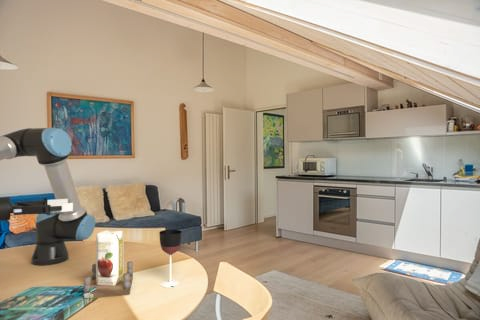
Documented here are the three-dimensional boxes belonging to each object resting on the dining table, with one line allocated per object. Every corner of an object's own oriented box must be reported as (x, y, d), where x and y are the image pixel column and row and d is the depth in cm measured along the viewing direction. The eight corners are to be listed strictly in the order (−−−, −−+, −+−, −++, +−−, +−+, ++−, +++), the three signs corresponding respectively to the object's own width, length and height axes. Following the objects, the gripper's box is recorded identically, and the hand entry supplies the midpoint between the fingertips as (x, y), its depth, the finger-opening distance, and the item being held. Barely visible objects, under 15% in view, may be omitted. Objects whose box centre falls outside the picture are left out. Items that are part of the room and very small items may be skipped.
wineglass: (171, 289, 120) (171, 235, 120) (154, 284, 124) (154, 232, 124) (185, 282, 127) (185, 231, 127) (169, 278, 131) (169, 228, 131)
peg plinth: (92, 282, 127) (92, 264, 127) (132, 278, 131) (132, 261, 131) (83, 299, 111) (83, 278, 111) (129, 294, 115) (129, 275, 115)
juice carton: (104, 278, 125) (104, 229, 125) (125, 279, 124) (125, 229, 124) (93, 286, 118) (93, 233, 118) (116, 287, 117) (116, 234, 117)
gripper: (-3, 215, 113) (65, 210, 125) (-8, 228, 93) (75, 220, 105) (-3, 194, 113) (65, 191, 125) (-8, 202, 93) (75, 197, 105)
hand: (70, 204), depth 115 cm, fingers open, 13 cm apart
